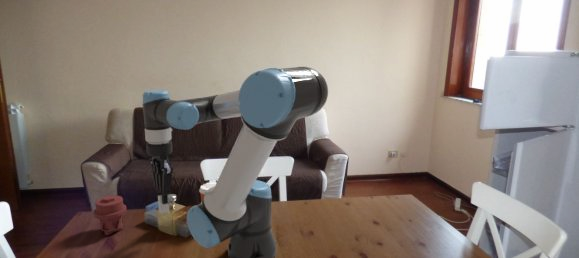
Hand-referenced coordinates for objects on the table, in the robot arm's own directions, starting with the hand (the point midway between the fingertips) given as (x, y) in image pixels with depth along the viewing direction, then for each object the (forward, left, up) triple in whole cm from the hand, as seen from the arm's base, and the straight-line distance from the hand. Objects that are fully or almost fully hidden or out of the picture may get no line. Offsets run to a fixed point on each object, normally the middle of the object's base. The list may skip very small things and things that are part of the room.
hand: (164, 211), depth 118 cm
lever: (+4, -3, 0) cm, 5 cm away
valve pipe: (+6, -7, -11) cm, 14 cm away
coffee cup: (-6, -16, -11) cm, 20 cm away
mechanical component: (+21, +5, -11) cm, 24 cm away
